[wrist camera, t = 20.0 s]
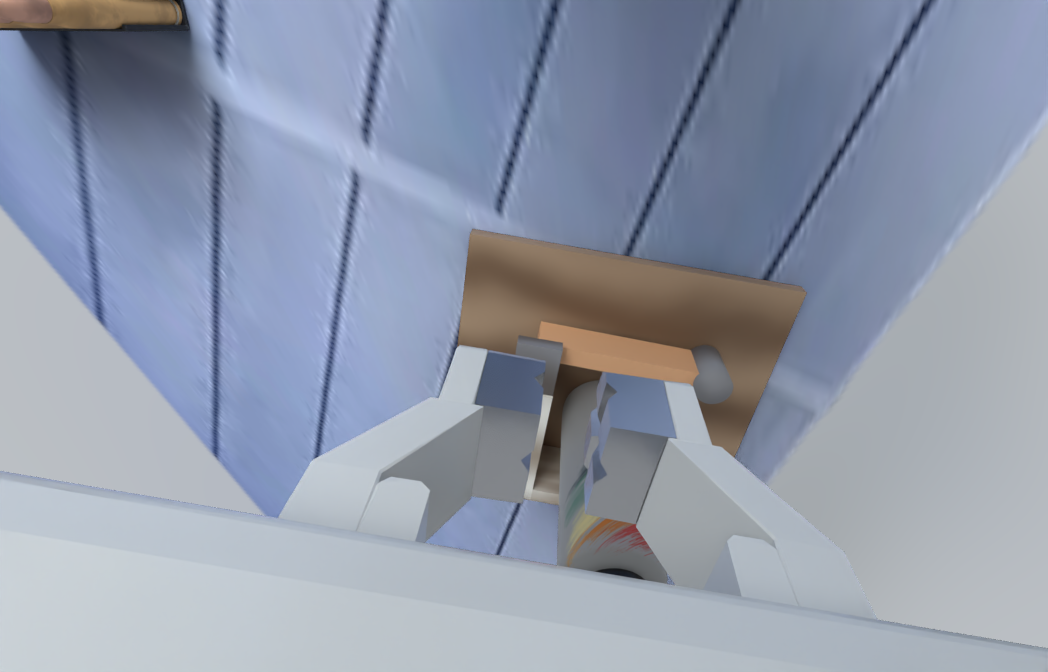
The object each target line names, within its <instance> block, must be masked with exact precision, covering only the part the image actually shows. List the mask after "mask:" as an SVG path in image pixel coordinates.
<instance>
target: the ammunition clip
mask: <svg viewBox="0 0 1048 672" xmlns="http://www.w3.org/2000/svg"><path fill="white" fill-rule="evenodd" d="M0 30H19V31H121V32H130V31H188V30H189V26H188V22H187V18H186V14H185V10H184V6H183V2H182V0H0Z"/></svg>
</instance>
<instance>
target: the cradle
mask: <svg viewBox="0 0 1048 672" xmlns="http://www.w3.org/2000/svg"><path fill="white" fill-rule="evenodd" d="M806 294H807V292H806V291H805V290H804V289H803V288H802V287H801V286H795V285H789V284H784V283H778V282H772V281H767V280H761V279H755V278H749V277H744V276H738V275H732V274H727V273H721V272H715V271H709V270H704V269H698V268H692V267H687V266H681V265H675V264H670V263H664V262H658V261H652V260H647V259H641V258H635V257H630V256H624V255H618V254H613V253H607V252H601V251H595V250H590V249H584V248H578V247H573V246H567V245H561V244H555V243H550V242H544V241H538V240H533V239H527V238H521V237H516V236H510V235H504V234H498V233H493V232H487V231H481V230H476V229H472V231H471V233H470V239H469V248H468V257H467V266H466V275H465V283H464V292H463V301H462V310H461V319H460V328H459V337H458V346H459V345H464V346H470V347H476V348H483V349H487V350H488V351H489V350H492V351H497V352H502V353H508V354H513V355H518V356H523V357H528V358H534V359H539V360H544V361H546V365H545V374H544V379H543V385H542V387H543V388H544V389H543V399H542V409H541V417H540V422H539V427H538V432H537V437H536V442H535V447H534V451H532V452H531V460H530V469H529V476H528V480H527V485H526V489H525V494H524V498H523V499H526V500H532V501H538V502H544V503H549V504H555V505H559V484H560V455H561V427H562V412H563V406H564V403H565V401H566V399H567V397H568V395H569V394H570V393H571V392H572V391H573V390H574V389H575V388H577V387H578V386H580V385H582V384H584V383H587V382H590V381H596V380H600V378H601V375H602V373H603V371H598V370H592V369H587V368H582V367H577V366H571V365H566V364H561V363H560V361H561V356H562V352H563V343H561V342H555V341H550V340H544V339H538V333H539V328H540V323H541V321H543V322H548V323H553V324H558V325H563V326H568V327H574V328H579V329H584V330H589V331H594V332H600V333H605V334H610V335H615V336H620V337H626V338H631V339H636V340H641V341H646V342H652V343H657V344H662V345H667V346H672V347H678V348H683V349H688V350H692V349H693V348H695V347H697V346H701V345H709V346H712V347H714V348H716V349H717V350H718V351H719V353H720V355H721V357H722V360H723V362H724V364H725V367H726V369H727V371H728V373H729V376H730V378H731V380H732V382H733V391H732V393H731V395H730V396H729V397H728V398H727V399H726V400H725V401H723V402H721V403H717V404H707V403H703V402H701V401H700V400H699V399H698V398H697V400H698V403H699V406H700V409H701V412H702V415H703V418H704V421H705V424H706V427H707V430H708V433H709V437H710V440H711V443H712V445H714V446H719V447H722V448H723V449H724V450H725V451H727V452H728V453H729V454H730V455H731V456H732V457H735V455H736V453H737V450H738V448H739V446H740V443H741V441H742V439H743V437H744V434H745V432H746V430H747V428H748V425H749V423H750V421H751V419H752V416H753V414H754V412H755V409H756V407H757V405H758V403H759V400H760V398H761V396H762V394H763V391H764V389H765V387H766V384H767V382H768V380H769V378H770V375H771V373H772V371H773V369H774V366H775V364H776V362H777V359H778V357H779V355H780V353H781V350H782V348H783V346H784V344H785V341H786V339H787V337H788V335H789V332H790V330H791V328H792V325H793V323H794V321H795V319H796V316H797V314H798V312H799V310H800V307H801V305H802V303H803V300H804V298H805V296H806ZM458 346H457V347H458Z"/></svg>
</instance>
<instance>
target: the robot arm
mask: <svg viewBox="0 0 1048 672" xmlns="http://www.w3.org/2000/svg"><path fill="white" fill-rule="evenodd" d="M545 365H546V361H544V360H539V359H534V358H528V357H523V356H518V355H513V354H508V353H502V352H497V351H492V350H489V351H488V350H487V349H483V348H476V347H470V346H464V345H459V346H458V347H457V349H456V351H455V354H454V357H453V360H452V363H451V365H450V368H449V371H448V374H447V377H446V379H445V382H444V385H443V388H442V391H441V393H440V396H439V398H433V397H430V398H428V399H426V400H424V401H422V402H420V403H418V404H417V405H415V406H413V407H411V408H409V409H407V410H405V411H403V412H402V413H400V414H398V415H396V416H394V417H392V418H390V419H389V420H387V421H385V422H383V423H381V424H379V425H377V426H375V427H374V428H372V429H370V430H368V431H366V432H364V433H362V434H361V435H359V436H357V437H355V438H353V439H351V440H349V441H347V442H346V443H344V444H342V445H340V446H338V447H336V448H334V449H333V450H331V451H329V452H327V453H325V454H323V455H321V456H319V457H318V458H316V459H314V460H312V461H311V463H310V465H309V466H308V468H307V470H306V471H305V473H304V475H303V477H302V478H301V480H300V482H299V483H298V485H297V487H296V488H295V490H294V492H293V493H292V495H291V497H290V498H289V500H288V502H287V503H286V505H285V507H284V508H283V510H282V512H281V513H280V515H279V517H278V518H275V517H269V516H263V515H256V514H251V513H245V512H239V511H233V510H228V509H221V508H216V507H210V506H204V505H198V504H192V503H186V502H180V501H174V500H169V499H162V498H157V497H151V496H145V495H139V494H133V493H127V492H122V491H116V490H110V489H104V488H98V487H92V486H86V485H80V484H74V483H69V482H63V481H57V480H51V479H45V478H39V477H33V476H27V475H21V474H16V473H9V472H4V471H0V672H1048V648H1043V647H1037V646H1031V645H1025V644H1019V643H1013V642H1007V641H1002V640H996V639H989V638H984V637H978V636H972V635H966V634H959V633H953V632H947V631H941V630H935V629H929V628H923V627H917V626H912V625H906V624H900V623H894V622H888V621H882V620H878V619H877V617H876V615H875V613H874V611H873V609H872V607H871V605H870V603H869V601H868V599H867V597H866V595H865V594H864V591H863V589H862V587H861V585H860V583H859V581H858V579H857V577H856V575H855V573H854V571H853V569H852V567H851V565H850V563H849V561H848V559H847V557H846V555H845V553H844V551H842V550H841V549H840V548H839V547H838V546H837V545H835V544H834V543H833V542H832V541H831V540H830V539H828V538H827V537H826V536H825V535H824V534H822V533H821V532H820V531H819V530H818V529H817V528H816V527H814V526H813V525H812V524H811V523H810V522H809V521H807V520H806V519H805V518H804V517H803V516H802V515H800V514H799V513H798V512H797V511H796V510H795V509H793V508H792V507H791V506H790V505H789V504H787V503H786V502H785V501H784V500H783V499H782V498H780V497H779V496H778V495H777V494H776V493H775V492H773V491H772V490H771V489H770V488H769V487H768V486H766V485H765V484H764V483H763V482H762V481H761V480H759V479H758V478H757V477H756V476H755V475H754V474H752V473H751V472H750V471H749V470H748V469H747V468H745V467H744V466H743V465H742V464H741V463H739V462H738V461H737V460H736V459H735V458H734V457H732V456H731V455H730V454H729V453H728V452H727V451H725V450H724V449H723V448H722V447H719V446H714V445H712V443H711V440H710V437H709V433H708V430H707V427H706V424H705V421H704V418H703V415H702V412H701V409H700V406H699V403H698V400H697V397H696V393H695V390H694V387H693V386H692V385H690V384H688V383H680V382H673V381H665V380H657V379H651V378H644V377H637V376H630V375H623V374H616V373H610V372H603V373H602V375H601V378H600V380H599V384H598V387H597V391H596V394H597V408H596V409H594V410H593V411H592V412H591V414H590V418H589V422H588V426H587V431H586V437H585V444H584V466H585V467H586V468H587V469H588V472H587V475H586V479H585V483H584V496H585V514H586V515H591V516H596V517H602V518H607V519H612V520H617V521H622V522H627V523H632V524H637V525H636V528H637V529H638V531H639V532H640V533H641V535H642V536H643V538H644V539H645V541H646V542H647V544H648V545H649V547H650V548H651V550H652V551H653V553H654V554H655V556H656V557H657V559H658V560H659V562H660V563H661V564H662V566H663V567H664V569H665V570H666V572H667V573H668V575H669V576H670V578H671V579H672V581H673V582H674V584H675V585H671V584H665V583H659V582H653V581H647V580H641V579H635V578H629V577H623V576H617V575H611V574H605V573H600V572H594V571H588V570H582V569H576V568H570V567H564V566H558V565H552V564H546V563H540V562H534V561H528V560H522V559H516V558H510V557H504V556H498V555H493V554H487V553H481V552H475V551H469V550H463V549H457V548H451V547H445V546H440V545H434V544H428V543H425V542H426V541H427V540H428V539H429V538H430V537H431V536H432V535H433V534H434V533H436V532H437V531H438V530H439V529H440V528H441V527H442V526H443V525H444V524H445V523H446V522H447V521H448V520H449V519H450V518H451V517H452V516H453V515H454V514H455V513H456V512H457V511H459V510H460V509H461V508H462V507H463V506H464V505H465V504H466V503H467V502H468V501H469V500H470V499H471V496H473V497H480V498H487V499H494V500H501V501H508V502H515V503H523V498H524V494H525V489H526V485H527V480H528V476H529V469H530V460H531V452H532V451H534V447H535V442H536V437H537V432H538V427H539V422H540V417H541V409H542V399H543V389H544V388H543V387H542V385H543V379H544V374H545Z"/></svg>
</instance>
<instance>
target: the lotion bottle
mask: <svg viewBox="0 0 1048 672" xmlns="http://www.w3.org/2000/svg"><path fill="white" fill-rule="evenodd" d="M598 384H599V380H596V381H590V382H587V383H584V384H582V385H580V386H578V387H577V388H575V389H574V390H573V391H572V392H571V393H570V394H569V395H568V397H567V399H566V401H565V403H564V406H563V412H562V427H561V455H560V484H559V513H558V543H557V565H558V566H564V567H570V568H576V569H582V570H588V571H594V572H600V573H605V574H611V575H617V576H623V577H629V578H635V579H641V580H647V581H653V582H659V583H665V584H667V572H666V570H665V569H664V567H663V566H662V564H661V563H660V562H659V560H658V559H657V557H656V556H655V554H654V553H653V551H652V550H651V548H650V547H649V545H648V544H647V542H646V541H645V539H644V538H643V536H642V535H641V533H640V532H639V531H638V529H637V528H636V525H637V524H632V523H627V522H622V521H617V520H612V519H607V518H602V517H596V516H591V515H586V514H585V496H584V483H585V479H586V475H587V472H588V469H587V468H586V467H585V466H584V444H585V437H586V431H587V426H588V422H589V418H590V414H591V412H592V411H593V410H594V409H596V408H597V394H596V391H597V387H598Z"/></svg>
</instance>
